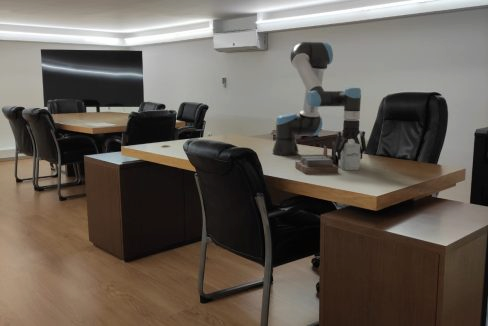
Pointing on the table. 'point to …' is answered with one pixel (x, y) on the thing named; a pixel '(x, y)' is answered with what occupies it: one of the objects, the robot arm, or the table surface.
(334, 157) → the letter holder
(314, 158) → the riser
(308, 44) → the robot arm
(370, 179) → the table surface
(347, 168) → the supplement box
